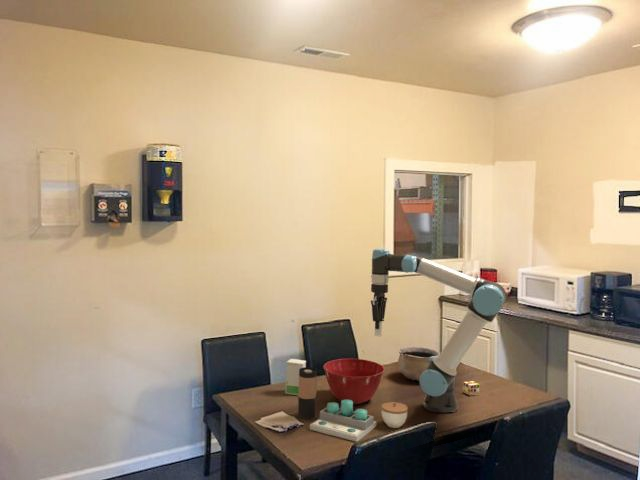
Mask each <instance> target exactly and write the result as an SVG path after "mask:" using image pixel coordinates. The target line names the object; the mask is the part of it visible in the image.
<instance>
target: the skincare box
mask: <svg viewBox="0 0 640 480" xmlns="http://www.w3.org/2000/svg"><path fill="white" fill-rule="evenodd" d="M306 364H307V360H302V359H296V358H290V359H288V360H287V361H286V371H285V386H284V387H285V389H284V391H285V392H284V394H286V395H294V396H298V391H299V369H300V368H304V367H306V366H307V365H306Z"/></svg>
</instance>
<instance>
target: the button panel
mask: <svg viewBox="0 0 640 480" xmlns="http://www.w3.org/2000/svg"><path fill="white" fill-rule="evenodd" d="M376 427H377V420H375V416H374V415H370V414H367V420H365V421H362V420H358V419H355V411H353V414H352V415H350V416H344V415H342V414H341V407H339V411H338V413H337V414H333V413H329V412H327V406H326V407H324V408H323V409H321V410H320V411H319V418H318V419H317V420H315V421H313V422H311V423H310V424H309V430H310V431H315V432H318V433H322V434H325V435H329V436H334V437H337V438H341V439H343V440H348V441H352V442H355V443H358V442H359V441H360V440H362V438H365V436H366V435H367V434H369V433H370V432H371V431H372V430H373V429H375V428H376Z"/></svg>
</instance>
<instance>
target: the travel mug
mask: <svg viewBox="0 0 640 480" xmlns="http://www.w3.org/2000/svg"><path fill="white" fill-rule="evenodd" d="M317 373H318V370H317V369H316V368H314V367H310V366H309V367H304V368H300V369H299V391H298V395H297V397H298V398H297V400H298V403H297V404H298V407H297V409H298V411H297V413H298V418H300V419H303V420H312V419H314V418H315V417H316V407H317V406H316V405H317V382H318V381H317V378H318V377H317V376H318V375H317Z"/></svg>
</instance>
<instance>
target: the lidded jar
mask: <svg viewBox="0 0 640 480" xmlns="http://www.w3.org/2000/svg"><path fill="white" fill-rule="evenodd" d="M381 417H382V420H383V422H384V423H385V424H386V426H387V427H389V428H392V429H397V428H402V426H403V425H404V424H405V423H406V421H407V419H408V418H407V417H408V406H407V405H406V404H404V403H401V402H395V401H390V402H384V403H382V404H381Z"/></svg>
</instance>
